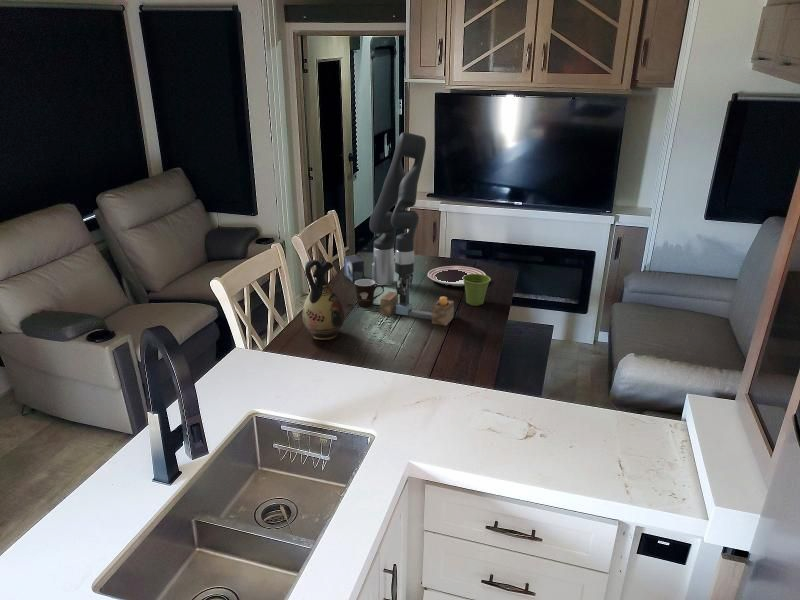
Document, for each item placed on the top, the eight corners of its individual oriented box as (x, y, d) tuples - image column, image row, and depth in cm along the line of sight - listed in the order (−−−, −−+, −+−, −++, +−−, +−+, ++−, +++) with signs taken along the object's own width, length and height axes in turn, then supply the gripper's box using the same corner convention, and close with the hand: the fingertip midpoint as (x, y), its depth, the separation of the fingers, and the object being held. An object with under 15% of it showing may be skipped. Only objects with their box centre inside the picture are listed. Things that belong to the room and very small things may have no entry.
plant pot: (467, 309, 245) (468, 284, 240) (457, 299, 255) (458, 274, 251) (493, 306, 248) (495, 281, 243) (482, 296, 258) (484, 272, 254)
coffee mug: (351, 306, 247) (350, 283, 244) (361, 299, 254) (361, 277, 251) (375, 311, 242) (374, 288, 239) (385, 304, 249) (385, 282, 246)
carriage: (396, 313, 238) (396, 289, 234) (400, 309, 242) (400, 285, 239) (407, 315, 236) (407, 290, 233) (412, 310, 241) (412, 286, 237)
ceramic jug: (324, 323, 231) (321, 250, 220) (353, 334, 222) (351, 258, 211) (291, 337, 219) (286, 260, 208) (320, 349, 210) (316, 269, 198)
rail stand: (380, 314, 239) (380, 298, 236) (389, 307, 247) (389, 291, 244) (446, 325, 229) (447, 309, 226) (453, 317, 237) (453, 301, 234)
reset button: (438, 306, 231) (438, 298, 230) (440, 304, 234) (441, 296, 232) (445, 308, 230) (445, 299, 229) (447, 305, 233) (448, 297, 231)
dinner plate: (417, 275, 285) (417, 268, 284) (466, 268, 296) (466, 261, 294) (445, 294, 262) (445, 287, 260) (496, 285, 272) (497, 278, 271)
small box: (343, 277, 282) (342, 256, 278) (355, 275, 284) (355, 254, 281) (352, 283, 273) (351, 262, 269) (365, 281, 276) (364, 260, 272)
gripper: (402, 254, 239) (402, 294, 245) (388, 264, 227) (388, 306, 233) (419, 256, 236) (418, 296, 242) (406, 267, 224) (406, 308, 230)
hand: (404, 301), depth 238 cm, fingers closed on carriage, 3 cm apart
